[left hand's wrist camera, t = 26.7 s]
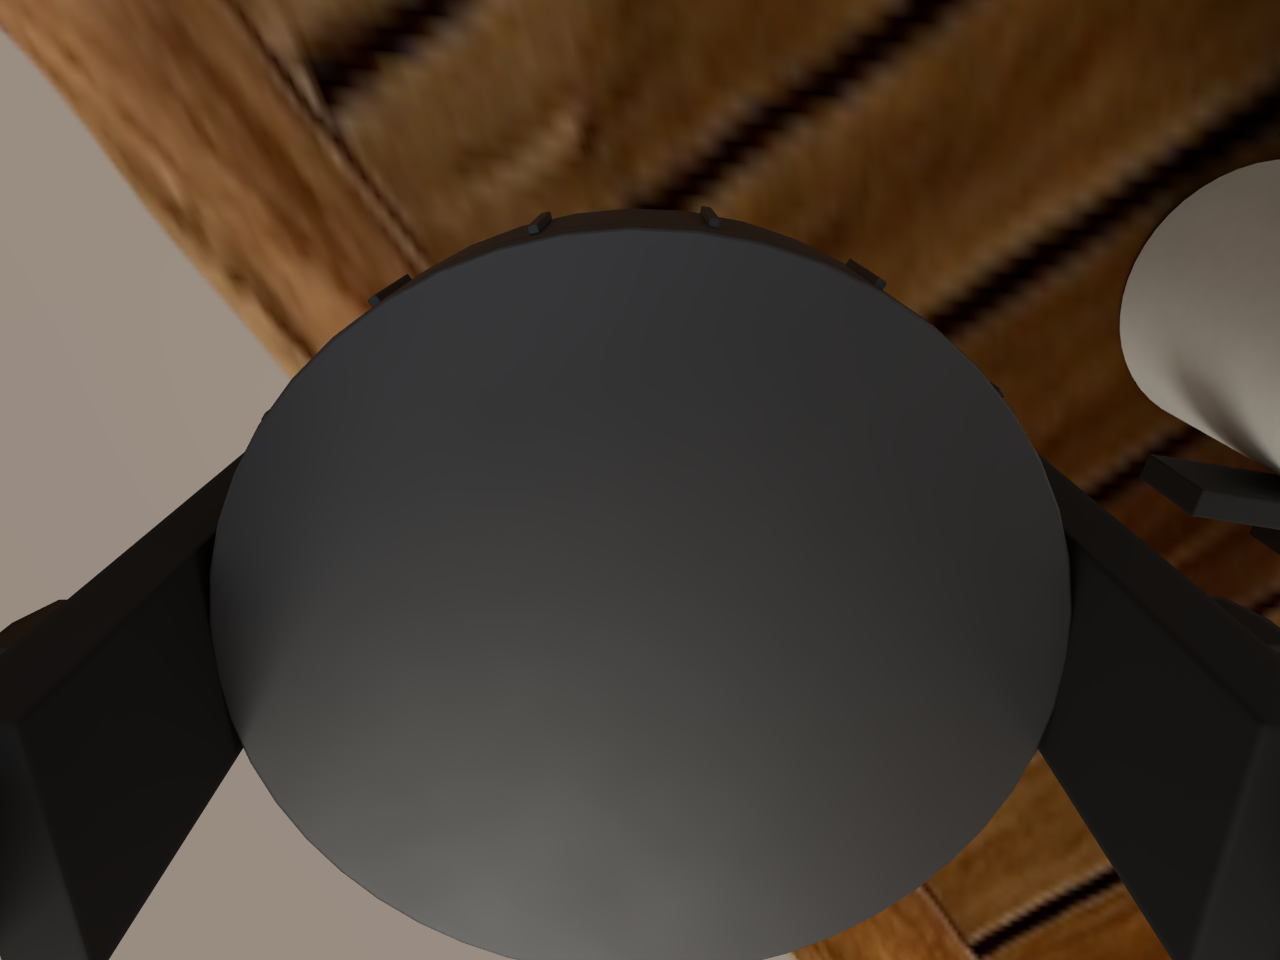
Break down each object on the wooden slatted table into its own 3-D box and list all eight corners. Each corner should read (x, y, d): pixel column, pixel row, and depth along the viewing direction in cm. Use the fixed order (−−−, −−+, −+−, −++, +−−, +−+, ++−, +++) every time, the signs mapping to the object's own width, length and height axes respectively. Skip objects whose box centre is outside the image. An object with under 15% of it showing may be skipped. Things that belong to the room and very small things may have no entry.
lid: (238, 798, 13) (175, 905, 11) (310, 102, 10) (236, 97, 8) (863, 917, 14) (895, 1034, 12) (1135, 316, 11) (1238, 357, 9)
